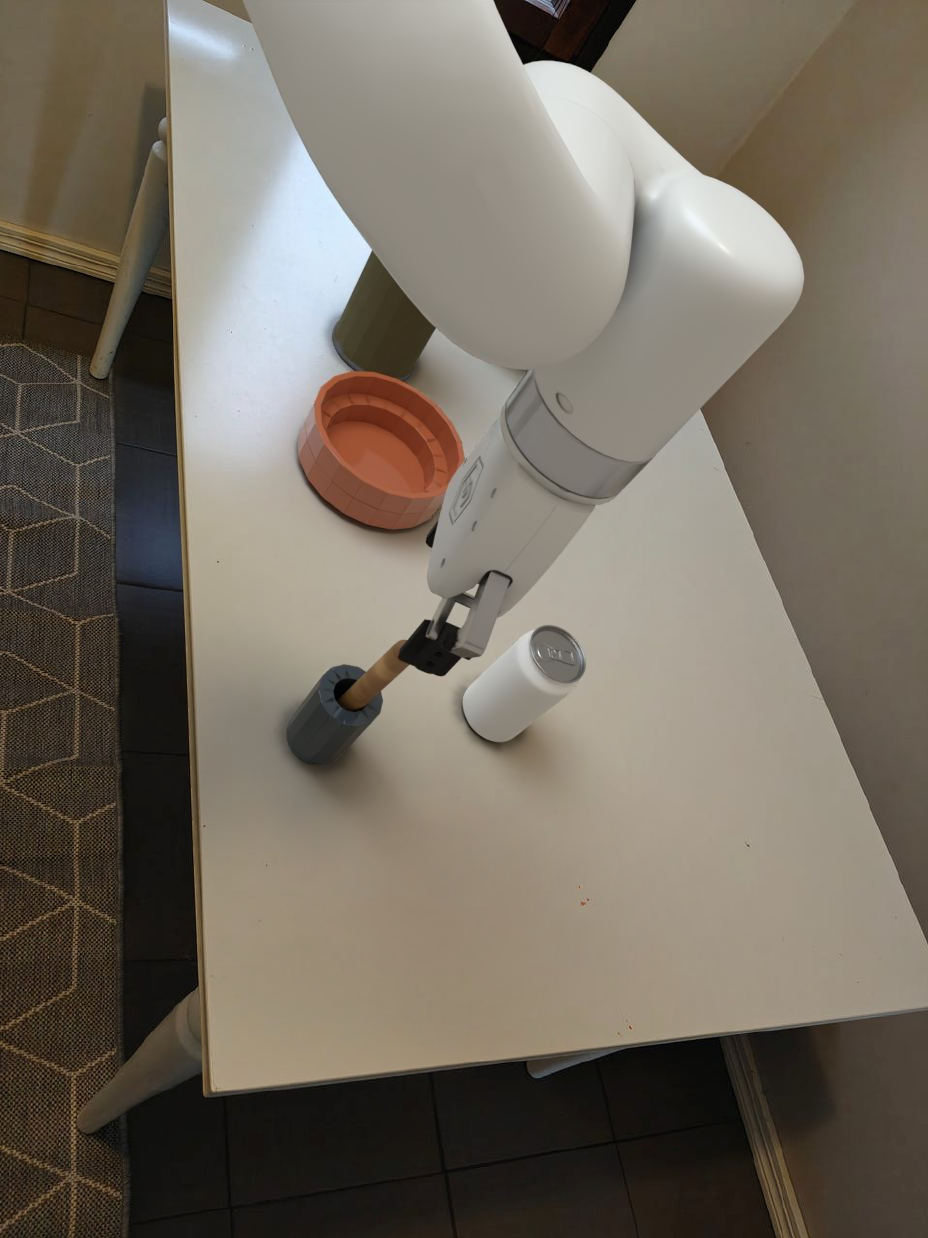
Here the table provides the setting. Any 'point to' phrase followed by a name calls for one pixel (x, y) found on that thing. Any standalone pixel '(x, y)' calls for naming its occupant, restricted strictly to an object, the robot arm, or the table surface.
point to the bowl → (379, 449)
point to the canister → (381, 325)
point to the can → (524, 683)
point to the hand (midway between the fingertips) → (433, 604)
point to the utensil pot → (329, 718)
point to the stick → (374, 680)
